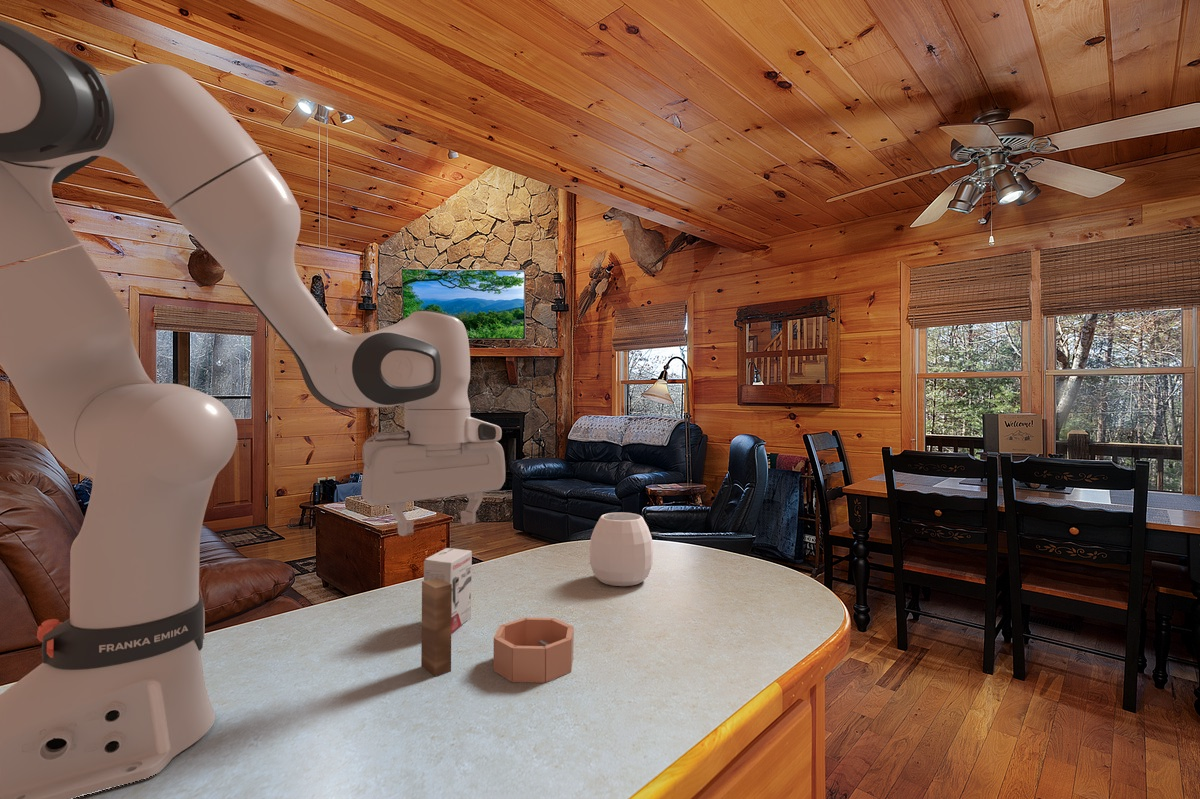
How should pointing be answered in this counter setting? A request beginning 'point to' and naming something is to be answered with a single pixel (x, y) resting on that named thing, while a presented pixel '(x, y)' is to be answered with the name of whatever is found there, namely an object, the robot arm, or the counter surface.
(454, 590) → the ink box
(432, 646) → the tall wooden block
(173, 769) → the counter surface
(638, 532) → the cup
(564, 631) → the octagonal terracotta tray
